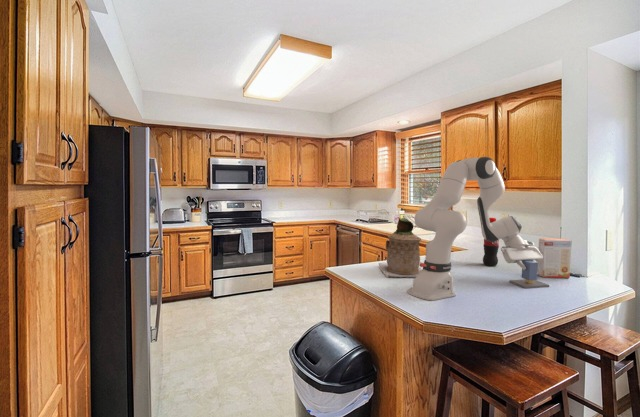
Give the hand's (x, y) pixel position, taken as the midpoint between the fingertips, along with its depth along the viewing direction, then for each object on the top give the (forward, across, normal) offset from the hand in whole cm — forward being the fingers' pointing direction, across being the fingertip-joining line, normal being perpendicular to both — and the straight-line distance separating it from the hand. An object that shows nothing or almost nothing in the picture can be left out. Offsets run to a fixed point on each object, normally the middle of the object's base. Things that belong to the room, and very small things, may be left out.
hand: (530, 269), depth 159 cm
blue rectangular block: (+3, 0, +4) cm, 5 cm away
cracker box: (-1, +25, +13) cm, 29 cm away
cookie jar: (-17, -54, +29) cm, 64 cm away
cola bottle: (-21, +8, +32) cm, 39 cm away
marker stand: (+5, 0, +6) cm, 8 cm away
